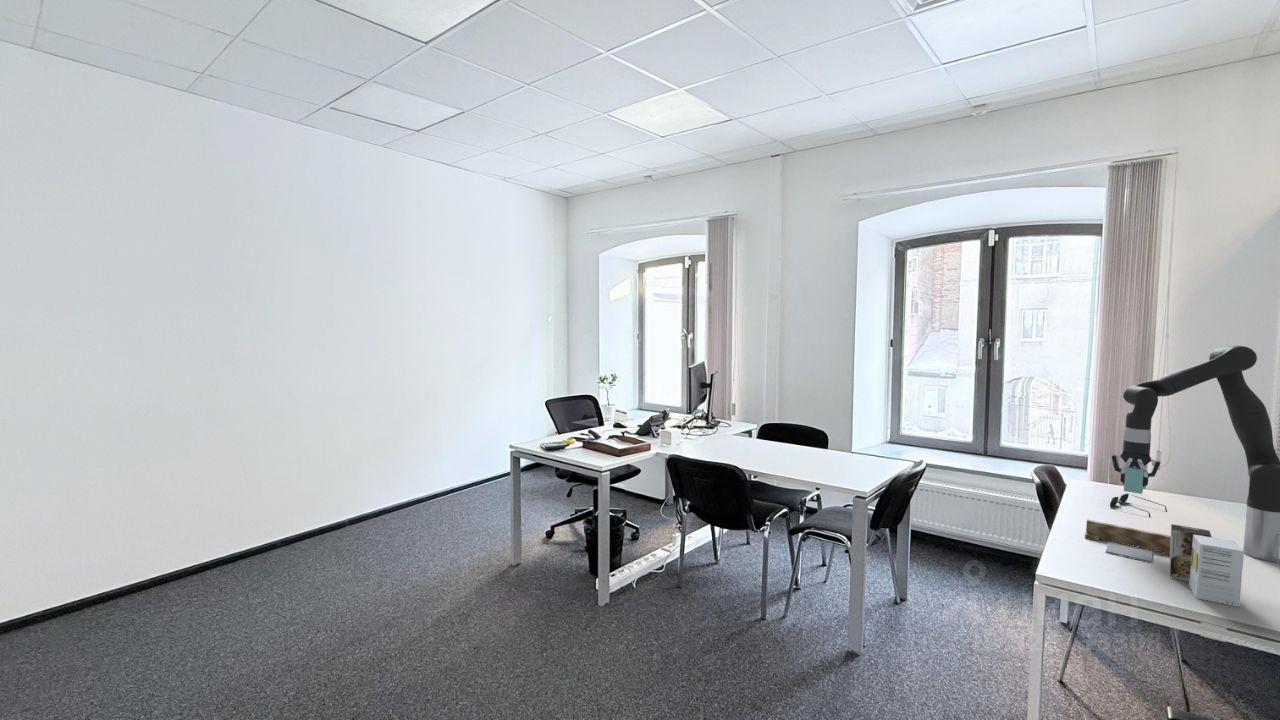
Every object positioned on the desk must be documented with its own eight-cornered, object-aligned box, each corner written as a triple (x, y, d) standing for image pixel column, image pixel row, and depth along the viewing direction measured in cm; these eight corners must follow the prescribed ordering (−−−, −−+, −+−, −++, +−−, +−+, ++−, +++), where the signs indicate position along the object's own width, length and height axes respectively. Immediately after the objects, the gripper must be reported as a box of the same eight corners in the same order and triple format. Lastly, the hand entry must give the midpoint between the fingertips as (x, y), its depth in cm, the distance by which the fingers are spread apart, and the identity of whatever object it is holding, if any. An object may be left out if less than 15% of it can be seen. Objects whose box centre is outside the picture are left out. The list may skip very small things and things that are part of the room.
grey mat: (1152, 552, 197) (1152, 551, 197) (1151, 562, 189) (1151, 561, 189) (1108, 543, 206) (1108, 541, 206) (1105, 552, 197) (1105, 550, 197)
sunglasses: (1125, 502, 255) (1127, 492, 254) (1166, 516, 242) (1169, 505, 241) (1107, 508, 247) (1110, 497, 246) (1149, 523, 234) (1152, 512, 233)
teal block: (1142, 491, 206) (1144, 467, 206) (1141, 494, 203) (1143, 470, 202) (1125, 488, 210) (1126, 465, 209) (1123, 491, 207) (1125, 467, 206)
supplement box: (1188, 586, 172) (1191, 533, 171) (1230, 594, 166) (1234, 540, 165) (1195, 598, 164) (1199, 543, 163) (1240, 608, 159) (1245, 550, 158)
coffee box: (1207, 579, 177) (1210, 530, 176) (1209, 586, 172) (1212, 535, 171) (1167, 570, 183) (1171, 523, 182) (1168, 577, 178) (1172, 528, 177)
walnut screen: (1180, 551, 198) (1181, 535, 198) (1180, 558, 192) (1181, 541, 192) (1087, 532, 216) (1088, 517, 216) (1084, 538, 211) (1085, 522, 210)
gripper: (1164, 441, 203) (1160, 487, 204) (1113, 435, 213) (1110, 479, 214) (1162, 444, 197) (1159, 491, 199) (1110, 438, 208) (1107, 482, 209)
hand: (1133, 484), depth 206 cm, fingers closed on teal block, 5 cm apart
